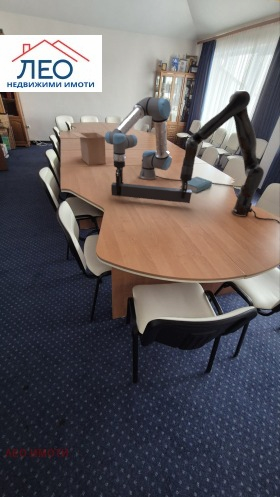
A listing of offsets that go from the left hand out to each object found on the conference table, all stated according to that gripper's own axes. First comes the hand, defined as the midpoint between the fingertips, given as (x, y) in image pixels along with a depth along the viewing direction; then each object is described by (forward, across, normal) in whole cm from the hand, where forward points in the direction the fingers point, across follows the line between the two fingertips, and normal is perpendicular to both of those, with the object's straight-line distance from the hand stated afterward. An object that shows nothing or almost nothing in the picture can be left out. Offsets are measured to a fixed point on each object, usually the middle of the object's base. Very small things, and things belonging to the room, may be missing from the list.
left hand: (119, 193), depth 157 cm
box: (+7, +92, +46) cm, 103 cm away
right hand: (-2, 0, -44) cm, 45 cm away
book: (+6, +43, -60) cm, 74 cm away
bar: (+1, 0, -22) cm, 22 cm away
